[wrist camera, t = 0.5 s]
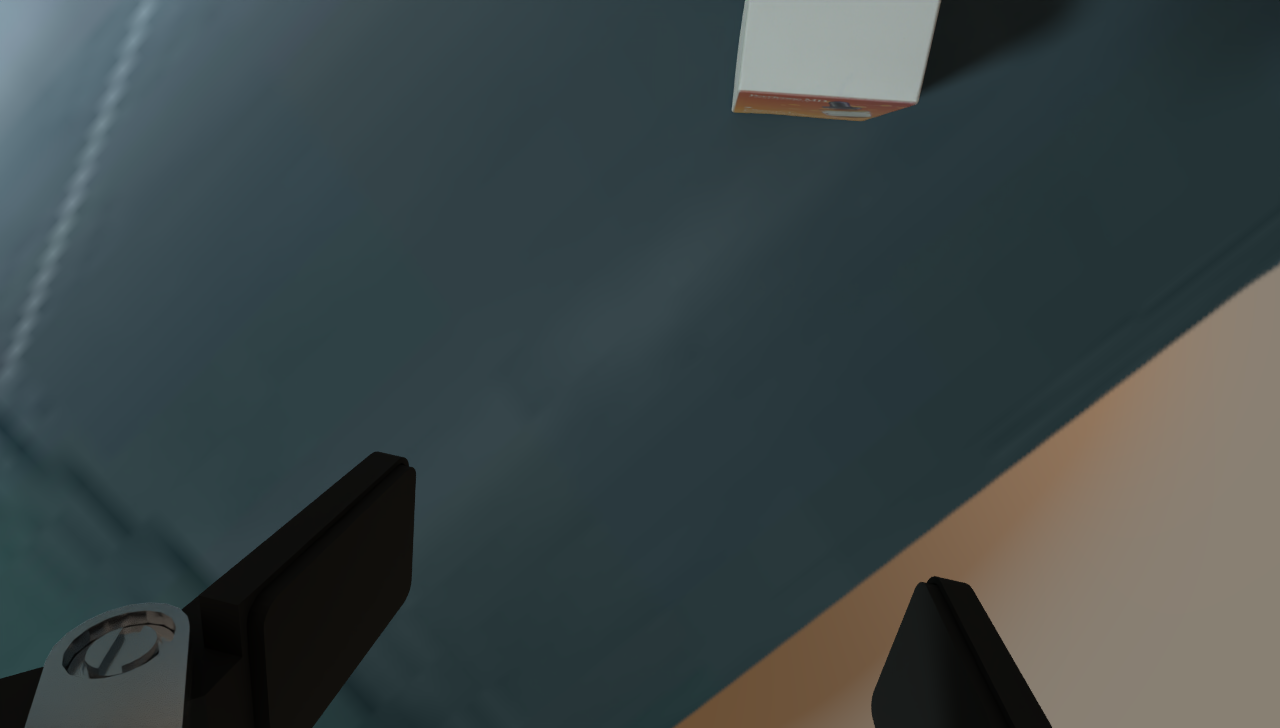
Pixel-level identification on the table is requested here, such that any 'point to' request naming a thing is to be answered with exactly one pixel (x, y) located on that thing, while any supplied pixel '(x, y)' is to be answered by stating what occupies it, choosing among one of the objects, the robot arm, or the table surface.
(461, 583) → the table surface
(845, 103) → the small box
